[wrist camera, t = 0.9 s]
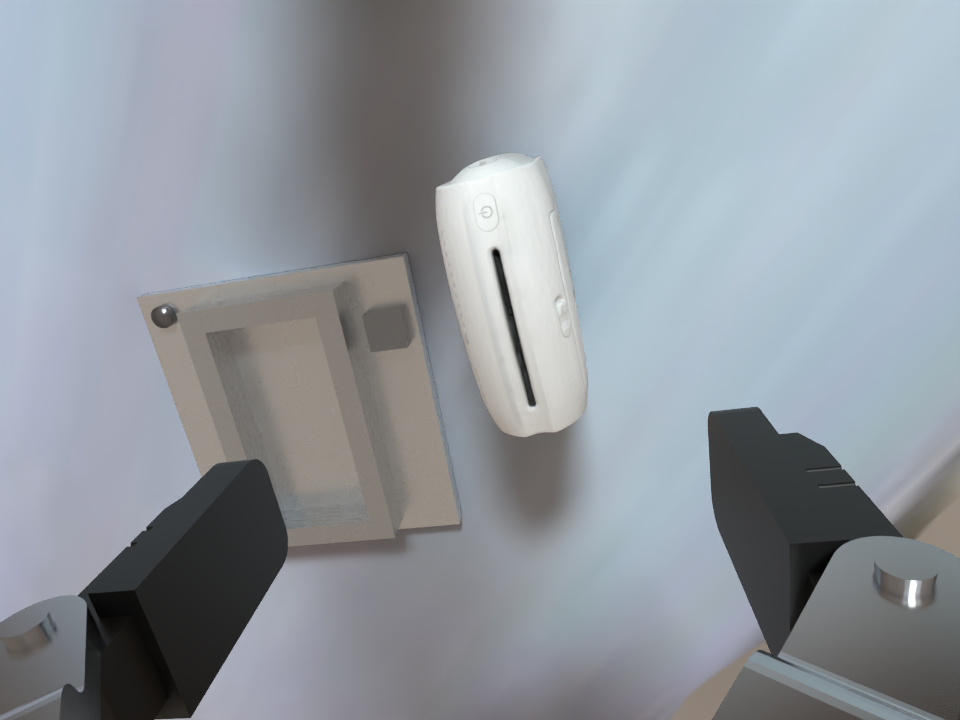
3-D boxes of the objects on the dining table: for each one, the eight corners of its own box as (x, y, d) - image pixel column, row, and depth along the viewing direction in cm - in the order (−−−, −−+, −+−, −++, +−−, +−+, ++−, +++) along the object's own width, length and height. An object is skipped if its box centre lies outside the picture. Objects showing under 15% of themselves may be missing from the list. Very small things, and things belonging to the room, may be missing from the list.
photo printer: (458, 162, 30) (404, 181, 19) (545, 140, 30) (543, 145, 18) (506, 355, 34) (484, 472, 22) (584, 339, 33) (605, 453, 21)
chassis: (148, 293, 34) (112, 307, 32) (407, 252, 32) (393, 264, 29) (233, 534, 40) (209, 564, 37) (461, 514, 37) (454, 545, 35)
